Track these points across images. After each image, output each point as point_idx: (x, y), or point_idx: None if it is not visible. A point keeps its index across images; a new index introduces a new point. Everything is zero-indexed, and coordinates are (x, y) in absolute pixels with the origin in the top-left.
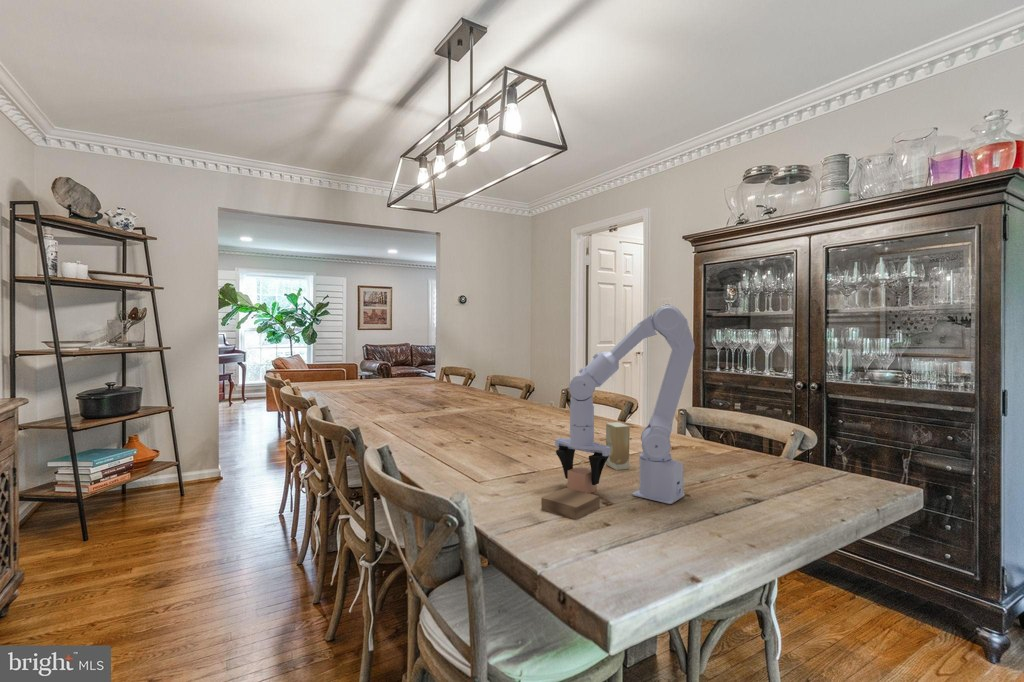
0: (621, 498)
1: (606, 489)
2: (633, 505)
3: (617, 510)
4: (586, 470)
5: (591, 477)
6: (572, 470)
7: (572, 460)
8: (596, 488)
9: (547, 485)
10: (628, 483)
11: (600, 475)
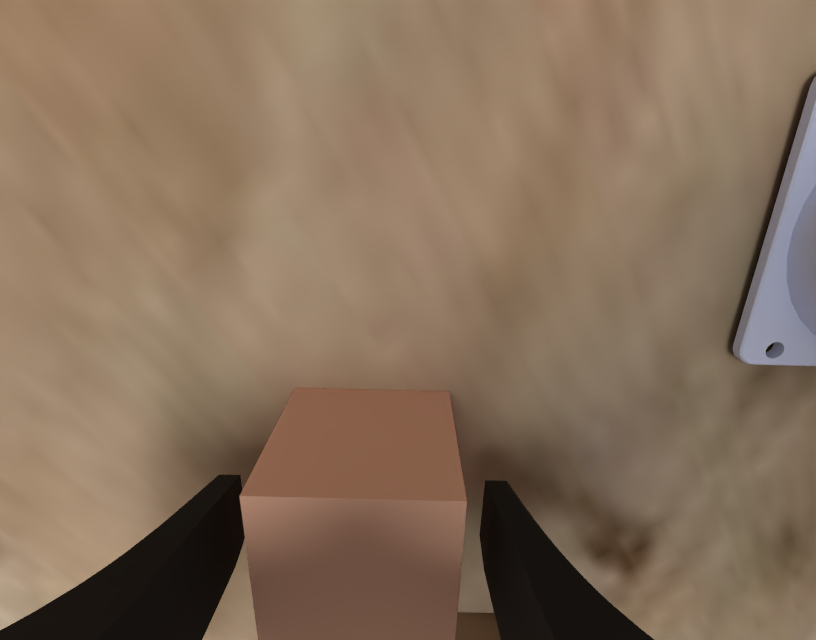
0: (669, 434)
1: (501, 334)
2: (774, 494)
3: (706, 596)
4: (394, 568)
5: (493, 601)
6: (290, 630)
7: (153, 591)
8: (449, 399)
9: (129, 501)
10: (600, 48)
11: (535, 522)
